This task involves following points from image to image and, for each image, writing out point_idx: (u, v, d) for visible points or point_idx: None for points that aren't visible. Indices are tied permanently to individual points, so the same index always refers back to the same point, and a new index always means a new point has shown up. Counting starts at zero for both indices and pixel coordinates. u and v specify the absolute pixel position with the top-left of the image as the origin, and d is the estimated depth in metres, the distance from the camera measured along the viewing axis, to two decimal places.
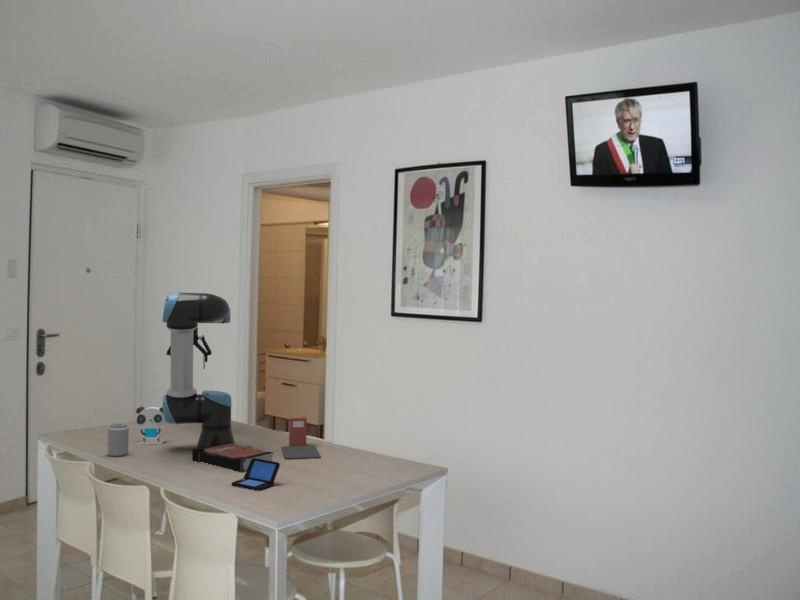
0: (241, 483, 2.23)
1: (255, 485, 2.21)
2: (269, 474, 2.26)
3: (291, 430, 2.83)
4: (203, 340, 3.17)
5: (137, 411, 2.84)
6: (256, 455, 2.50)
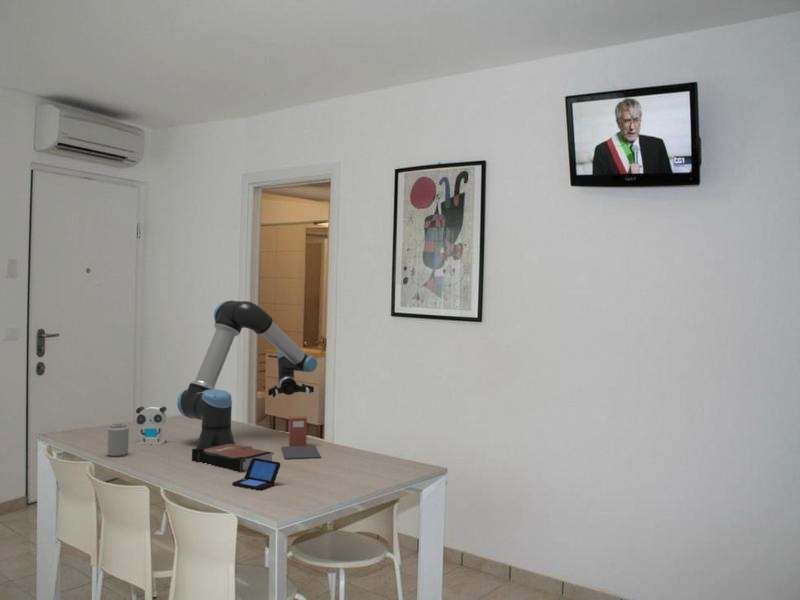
0: (242, 483, 2.23)
1: (256, 485, 2.22)
2: (270, 474, 2.27)
3: (291, 430, 2.82)
4: (303, 384, 3.12)
5: (137, 411, 2.84)
6: (256, 455, 2.49)
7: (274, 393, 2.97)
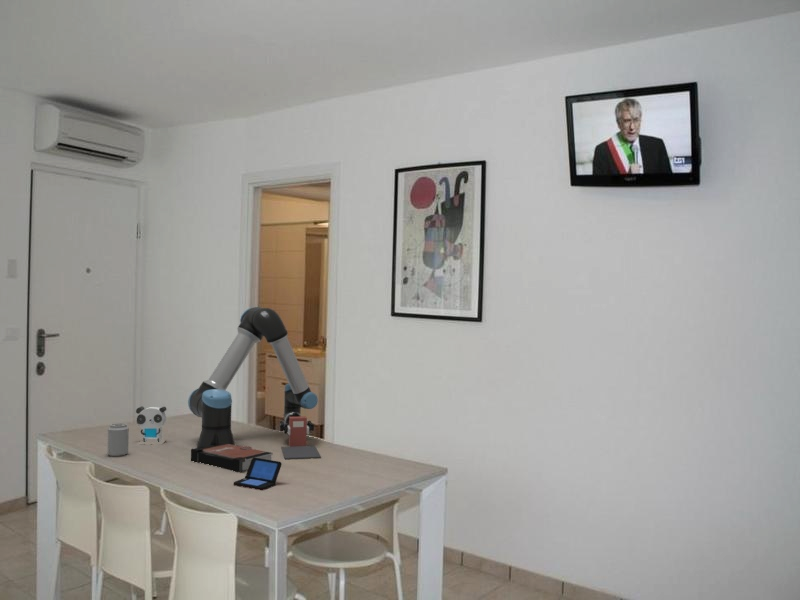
0: (243, 482, 2.24)
1: (258, 484, 2.22)
2: (271, 473, 2.27)
3: (291, 430, 2.83)
4: (309, 421, 2.97)
5: (137, 411, 2.84)
6: (255, 455, 2.49)
7: (286, 429, 2.82)
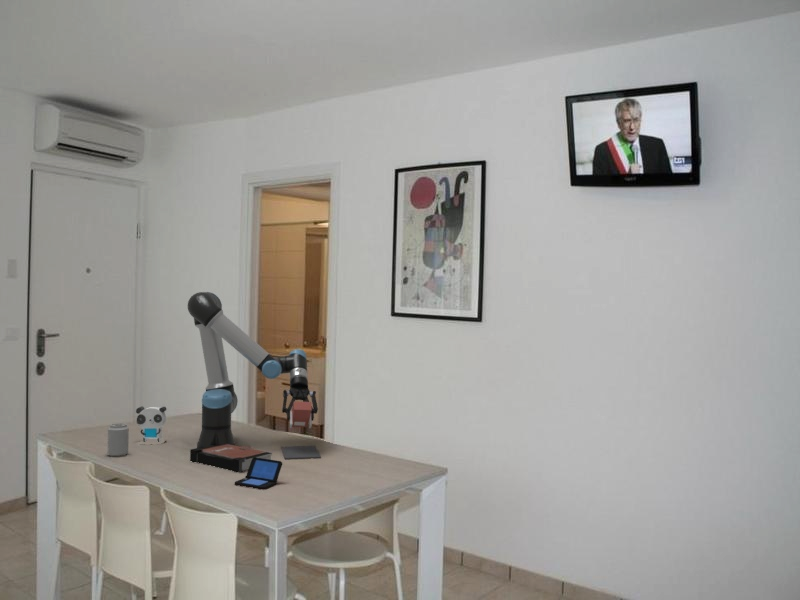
0: (244, 482, 2.24)
1: (259, 484, 2.23)
2: (272, 473, 2.28)
3: (307, 420, 2.74)
4: None
5: (137, 411, 2.84)
6: (254, 455, 2.49)
7: (312, 419, 2.75)
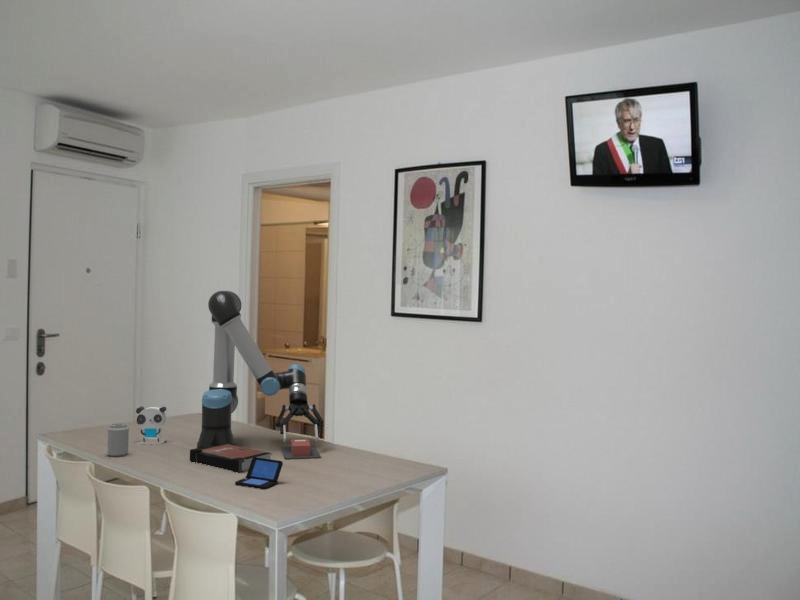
0: (245, 482, 2.24)
1: (260, 484, 2.23)
2: (272, 472, 2.28)
3: None
4: None
5: (137, 411, 2.84)
6: (254, 456, 2.49)
7: (318, 432, 2.76)
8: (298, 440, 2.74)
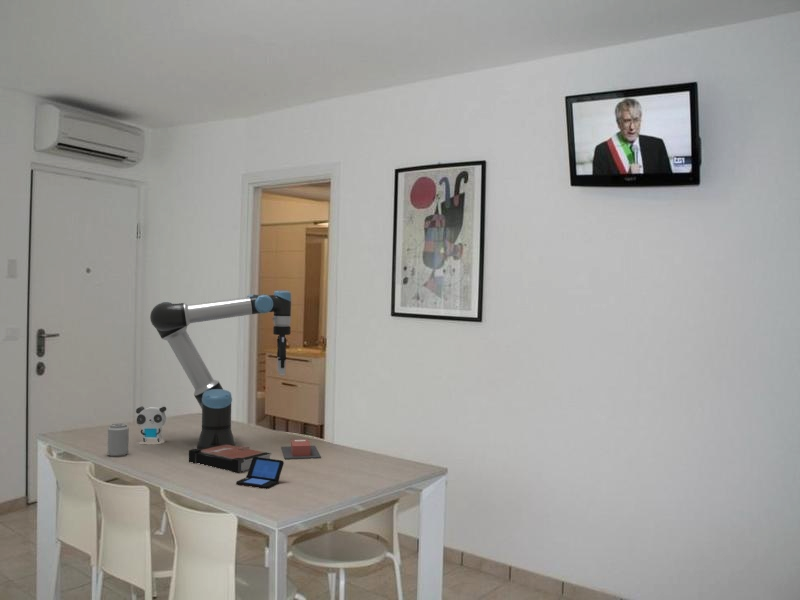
0: (246, 482, 2.25)
1: (261, 483, 2.24)
2: (273, 472, 2.29)
3: None
4: None
5: (137, 411, 2.84)
6: (254, 456, 2.48)
7: (282, 367, 2.91)
8: (298, 440, 2.74)
